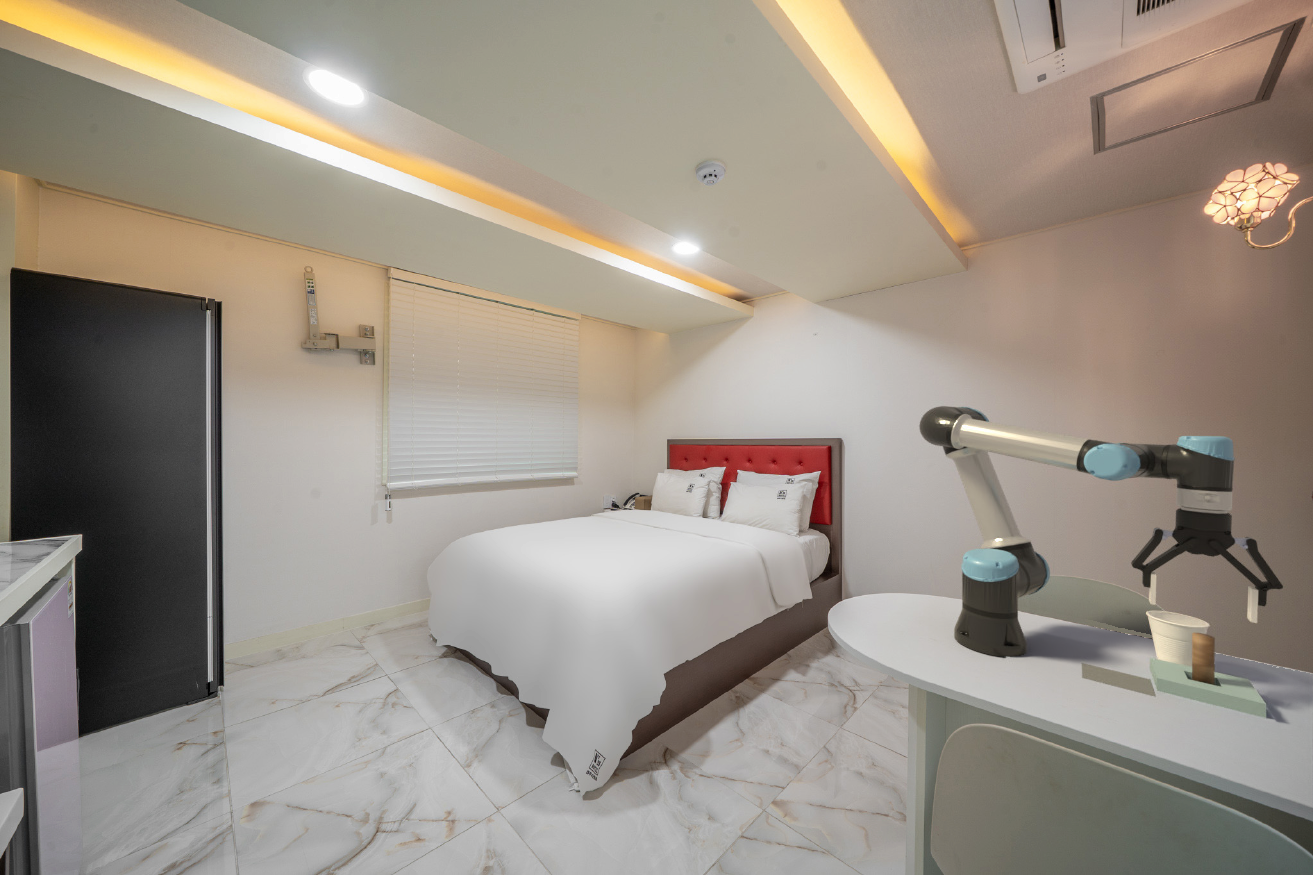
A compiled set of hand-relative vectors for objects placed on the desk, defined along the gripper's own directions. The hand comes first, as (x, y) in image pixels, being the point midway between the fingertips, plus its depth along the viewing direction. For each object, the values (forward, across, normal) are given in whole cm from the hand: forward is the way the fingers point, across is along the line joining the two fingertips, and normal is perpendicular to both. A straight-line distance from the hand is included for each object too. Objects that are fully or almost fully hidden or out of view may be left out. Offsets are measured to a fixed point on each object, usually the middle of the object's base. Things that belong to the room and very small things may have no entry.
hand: (1199, 611), depth 96 cm
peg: (+17, +1, 0) cm, 17 cm away
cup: (+17, -1, +14) cm, 22 cm away
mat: (+17, -12, -5) cm, 22 cm away
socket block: (+17, +1, 0) cm, 17 cm away
